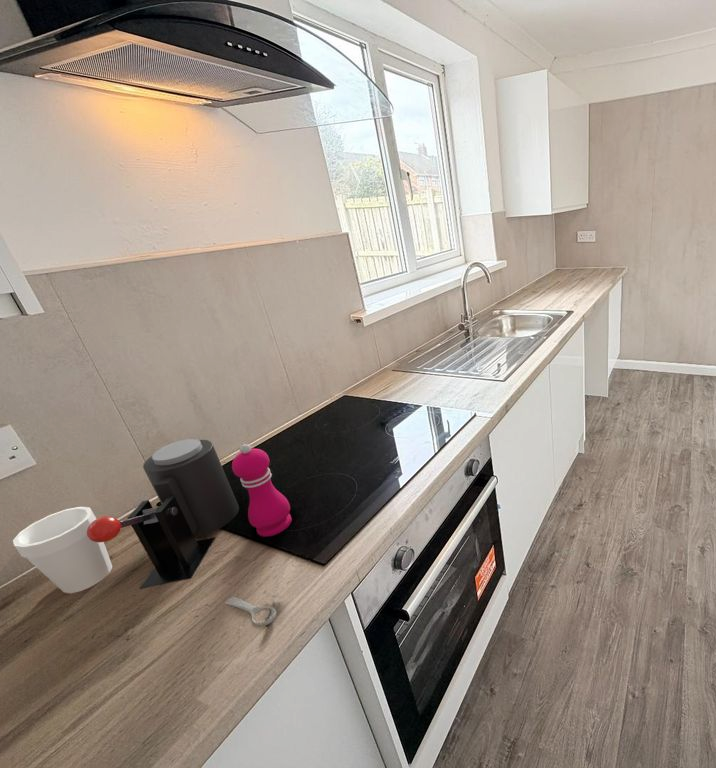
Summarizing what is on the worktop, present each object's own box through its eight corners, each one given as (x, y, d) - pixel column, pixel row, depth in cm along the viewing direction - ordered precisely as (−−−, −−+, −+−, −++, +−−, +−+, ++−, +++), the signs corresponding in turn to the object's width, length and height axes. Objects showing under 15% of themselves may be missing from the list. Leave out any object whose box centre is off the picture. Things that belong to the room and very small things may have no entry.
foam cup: (68, 573, 76) (31, 518, 71) (131, 553, 80) (100, 500, 75) (43, 614, 68) (-1, 555, 63) (114, 590, 72) (78, 532, 67)
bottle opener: (266, 632, 62) (261, 623, 62) (217, 612, 67) (212, 603, 67) (283, 615, 65) (278, 606, 64) (235, 597, 70) (230, 588, 69)
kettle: (224, 543, 81) (188, 465, 74) (161, 555, 79) (118, 477, 72) (252, 493, 95) (225, 424, 88) (200, 502, 93) (167, 432, 86)
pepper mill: (260, 522, 86) (227, 439, 78) (298, 513, 88) (269, 431, 80) (251, 546, 79) (214, 459, 71) (292, 536, 81) (260, 450, 73)
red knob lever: (109, 542, 59) (107, 516, 59) (80, 547, 58) (78, 522, 59) (173, 521, 73) (171, 500, 73) (150, 525, 72) (148, 504, 73)
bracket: (193, 582, 72) (161, 521, 67) (142, 593, 71) (105, 531, 65) (217, 541, 81) (191, 484, 76) (172, 550, 80) (142, 492, 74)
